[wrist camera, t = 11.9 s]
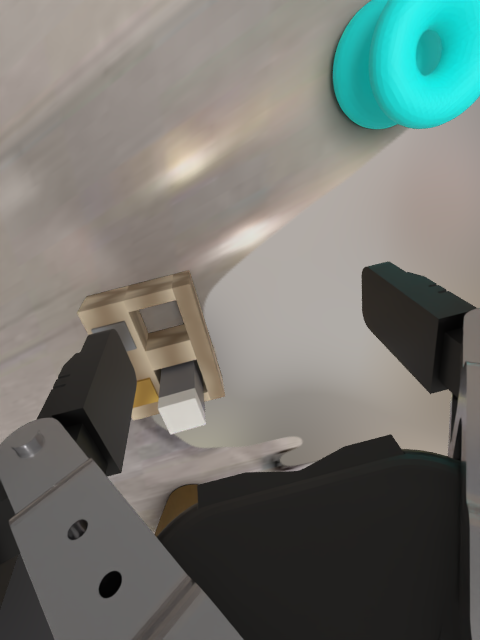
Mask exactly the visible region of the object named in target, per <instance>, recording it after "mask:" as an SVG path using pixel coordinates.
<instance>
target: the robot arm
mask: <svg viewBox="0 0 480 640" xmlns="http://www.w3.org/2000/svg"><path fill="white" fill-rule="evenodd" d="M362 312H363V317H364V321H365V323H366V325H367V327H368V328H369V329H370V330H371V332H373V334H374V335H375V336H376V337H377V338H378V339H379V340H380V341H381V342H382V343H383V344H384V345H385V346H386V347H387V348H388V349H389V350H390V352H391V353H392V354H393V355H394V356H395V357H396V358H397V359H398V360H399V361H400V362H401V363H402V364H403V365H404V366H405V367H406V369H407V370H408V371H409V372H410V373H411V374H412V375H413V376H414V377H415V378H416V379H417V380H418V381H419V382H420V383H421V384H422V385H423V387H424V388H425V389H426V390H427V391H428V392H429V393H430V394H431V393H435V392H439V391H443V390H447V389H449V390H450V391H451V392H452V397H451V404H450V424H449V444H448V456H444V455H440V454H437V453H433V452H427V451H421V450H409V449H401V448H400V447H399V445H398V444H397V442H396V441H395V439H394V438H393V436H392V435H387V436H383V437H379V438H375V439H372V440H368V441H364V442H360V443H357V444H352V445H349V446H345V447H343V448H341V449H339V450H337V451H335V452H334V453H332V454H330V455H328V456H326V457H325V458H323V459H321V460H319V461H317V462H315V463H313V464H312V465H310V466H308V467H306V468H304V469H302V470H299V471H292V472H248V473H242V474H238V475H234V476H230V477H227V478H223V479H219V480H215V481H211V482H208V483H204V484H200V485H197V492H198V503H196V504H194V505H192V506H191V507H189V508H188V509H186V510H185V511H183V512H182V513H180V514H179V515H178V516H177V517H176V518H175V519H173V520H172V521H171V522H170V523H169V524H168V525H167V526H166V527H165V528H164V529H163V530H162V531H161V532H160V533H159V535H158V536H157V537H156V536H155V535H154V534H153V532H152V531H151V530H150V529H149V527H148V526H147V525H146V524H145V523H144V521H143V520H142V519H141V518H140V516H139V515H138V514H137V513H136V512H135V510H134V509H133V508H132V507H131V505H130V504H129V503H128V502H127V501H126V499H125V498H124V497H123V496H122V494H121V493H120V492H119V491H118V490H117V488H116V487H115V486H114V485H113V483H112V482H111V481H110V480H109V479H108V477H107V476H111V475H114V474H118V473H121V471H122V466H123V460H124V454H125V449H126V443H127V438H128V432H129V426H130V421H131V415H132V410H133V404H134V398H135V393H136V387H137V379H136V374H135V370H134V367H133V365H132V363H131V361H130V358H129V356H128V354H127V352H126V349H125V347H124V345H123V343H122V341H121V338H120V336H119V334H118V332H117V331H116V330H115V329H109V330H105V331H101V332H97V333H93V334H89V335H88V337H87V339H86V341H85V343H84V345H83V348H82V350H81V352H80V353H76V354H75V355H74V356H73V357H72V358H71V359H70V360H69V361H68V362H67V363H66V364H65V365H64V366H63V368H62V370H61V372H60V374H59V376H58V379H57V380H56V382H55V384H54V386H53V389H52V390H51V392H50V394H49V396H48V398H47V400H46V402H45V404H44V406H43V408H42V410H41V412H40V414H39V416H38V418H37V420H34V421H32V422H29V423H27V424H25V425H23V426H22V427H20V428H18V429H17V430H16V431H14V432H13V433H12V434H10V435H9V436H8V437H7V438H6V439H5V440H4V441H3V442H2V443H1V444H0V608H1V605H2V602H3V599H4V596H5V593H6V590H7V587H8V584H9V581H10V578H11V575H12V572H13V569H14V566H15V563H16V560H17V557H18V554H20V553H21V555H22V558H23V561H24V563H25V566H26V568H27V570H28V573H29V575H30V578H31V581H32V583H33V586H34V588H35V591H36V593H37V596H38V598H39V601H40V604H41V606H42V608H43V611H44V614H45V616H46V619H47V621H48V624H49V626H50V629H51V631H52V633H53V636H54V639H55V640H480V308H476V307H474V306H473V305H471V304H469V303H468V302H466V301H464V300H463V299H461V298H459V297H458V296H456V295H454V294H453V293H451V292H449V291H446V289H444V288H442V287H441V286H439V285H436V283H434V282H433V281H431V280H429V279H427V278H426V277H424V276H421V275H417V274H413V273H410V272H405V271H403V270H402V269H400V268H399V267H397V266H396V265H394V264H392V263H391V262H385V263H381V264H376V265H372V266H368V267H365V268H364V269H363V271H362Z"/></svg>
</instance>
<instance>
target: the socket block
mask: <svg viewBox="0 0 480 640" xmlns="http://www.w3.org/2000/svg"><path fill="white" fill-rule="evenodd" d="M175 300H176V301H177V304H178V307H179V310H180V313H181V316H182V319H183V321H184V324H183V325H179V326H176V327H172V328H168V329H164V330H160V331H156V332H152V333H148V331H147V329H146V326H145V324H144V322H143V319H142V317H141V314H140V312H139V310H140V309H144V308H147V307H151V306H155V305H159V304H163V303H167V302H171V301H175ZM77 314H78V316H79V318H80V319H81V321H82V323H83V325H84V327H85V329H86V331H87V333H88V335H89V334H93V333H97V332H101V331H105V330H109V329H115V330H116V331H117V332H118V334H119V336H120V338H121V341H122V343H123V345H124V347H125V349H126V352H127V354H128V356H129V358H130V361H131V363H132V365H133V367H134V370H135V374H136V379H137V387H136V393H135V398H134V404H133V410H132V415H131V417H132V419H133V420H137V419H141V418H145V417H149V416H152V415H156V414H160V412H159V410H158V401H159V390H160V379H161V369H162V368H166V367H169V366H173V365H177V364H181V363H185V362H189V361H192V360H196V359H197V362H198V365H199V368H200V371H201V373H202V379H203V392H204V402H205V401H209V400H213V399H217V398H221V397H224V396H225V392H224V386H223V379H222V375H221V371H220V368H219V365H218V362H217V358H216V355H215V352H214V349H213V345H212V342H211V339H210V336H209V332H208V329H207V326H206V323H205V320H204V316H203V313H202V310H201V307H200V303H199V300H198V297H197V294H196V290H195V287H194V284H193V281H192V277H191V274H190V271H189V270H188V271H184V272H180V273H177V274H173V275H169V276H165V277H161V278H157V279H153V280H149V281H145V282H141V283H137V284H134V285H130V286H126V287H122V288H118V289H114V290H110V291H106V292H102V293H98V294H94V295H91V296H87V297H86V298H85V300H84V302H83V303H82V305H81V307H80V308H79V310H78V312H77Z"/></svg>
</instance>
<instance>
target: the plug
mask: <svg viewBox="0 0 480 640" xmlns="http://www.w3.org/2000/svg"><path fill="white" fill-rule="evenodd" d="M158 410H159V412H160V414H161V416H162V418H163V420H164V422H165V424H166V426H167V428H168V430H169V432H170V434H174V433H178V432H181V431H185V430H188V429H192V428H195V427H199V426H203V425H206V420H205V419H206V418H205V405H204V392H203V379H202V373H201V371H200V368H199V365H198V362H197V359H196V360H192V361H189V362H185V363H181V364H177V365H173V366H169V367H166V368H162V369H161V379H160V390H159V401H158Z"/></svg>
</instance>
